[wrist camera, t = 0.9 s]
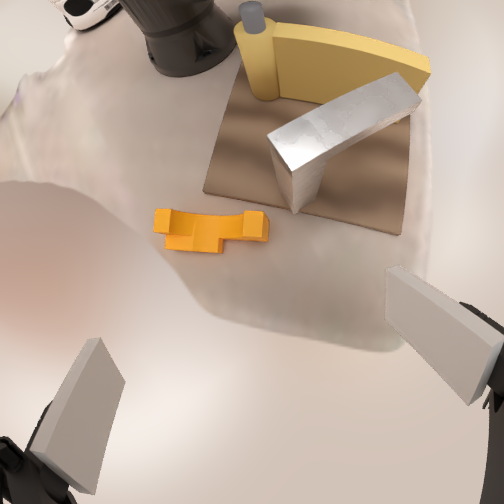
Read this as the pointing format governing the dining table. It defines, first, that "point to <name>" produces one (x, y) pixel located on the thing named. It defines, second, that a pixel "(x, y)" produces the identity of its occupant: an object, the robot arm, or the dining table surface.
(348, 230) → the dining table surface
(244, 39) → the hinged door
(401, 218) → the board
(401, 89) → the hook
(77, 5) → the white rounded appliance
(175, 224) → the pipe clamp
